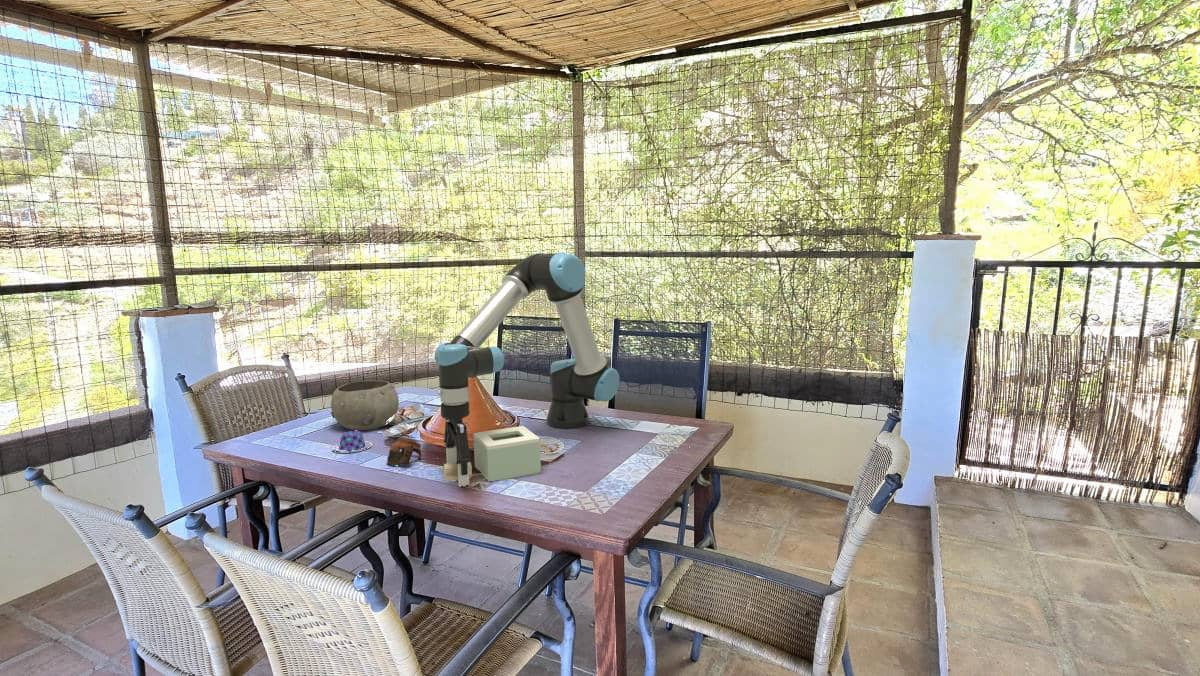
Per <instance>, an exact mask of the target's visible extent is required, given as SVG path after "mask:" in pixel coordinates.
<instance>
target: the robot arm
mask: <svg viewBox="0 0 1200 676" xmlns="http://www.w3.org/2000/svg"><path fill="white" fill-rule="evenodd" d="M585 277H587V275H586V269H585V266H584V264H583V262H582V260H581V259H580V258H579V257H578V256H576V255H574V254H572V253H566V252H557V253H533V254H531V255H529V256H527V257H525V258H524V259H522V260H520V261H519V262H518V263H517V264H515V266H513V267H512V268H511V269H510V270H509V271H508V272H507V273H506V274H505V276H504V277H503V278H502V284H501V285H500V286H499V287H498V288H497V290H496V291H494V292H493V294H492V295H491V297H489V299H487V300H486V301H485V303H484V304H483V305H482V307H481V308H479V310H478V311H477V312H476V313H475V314H474V315H473V317H472V318H471V319H470V320H469V321H468V322H466V324H465V326H464V327H462V329H461V330H460V331H459V332H458V333H457V334H456V336H455V337H454V338H453V339H452V340H451V341H449V342H444V343H441V344H439V345H438V346H437V347H436V349H435V351H434V360H435V362H436V364H437V365H438V375H439V390H440V391H438V392H437V394H438V396H440V397H439V398H440V402H441V403H440V416H441V418H443V419H444V420H445V423H444V424H445V427H444V438H443V443H444V444H445V449H446V450H445V453H446V464H449V463H456V464H458V481H457V482H458V487H459V488H462V487H461V486H463V487H467V486H466V485H469V486H470V480H469V462H470V463H471V462H472V458H471V455H470V454H471V453H470V447H469V445H470V444H469V438H468V431H467V424H466V423H465V422H464V421H463V419H464V418H466V417H469V416H470V402H469V400H470V388H469V387H470V386H469V378H474V377H480V376H485V375H492V374H494V373H495V374H496V373H497V372H500V371H502V369H503V367H504V365H505V356H504V353H503V351H502V350H501V349H500V348H499V347H497V346H486V347H481V346H482V345H484V343H485V342H486V341H487V339H488V338H489V337H490V336H491V335H492V334H493V333H494V332H495V331H496V329H497V328H498V327H499V325H501V323H502V322H503V321H504V320H505V319H506V318H507V316H508V315H509V314H510V313H511V312H512V311H513V309H514V308H515V307H516V305H518V303H519V302H520V301H521V299H522V300H523V299H526V298H527V297H528V296H530V294H531V293H533V292H535V291H545V293H546V296H547V300H548V301H549V302H551V303H553V304H554V305H555V308H556V310H557V313H558V315H559V316H558V317H559V318H560V322H561V325H562V328H563V330H564V333H565V336H566V340H567V341H568V342H567V343H568V344H569V347H570V350H571V352H572V356H573V358H568V359H561V360H556V361H552V363H551V364H550V372H549V379H550V396H551V397H550V401H551V402H550V406H549V407H548V408H549V409H548V411H547V415H546V424H547V425H548V426H550V427H552V428H558V429H573V428H574V429H575V428H580V427H585V426H586V425H588V424H589V422H590V421H589V413H588V410H587V408H586V405H585V403H584V399H586V400H592V401H596V402H608V401H610V400H612V399H613V398H614V397H615V395H616V394H617V392H618V389H619V386H620V375H619V372H618V370H617V369H615V368H613V367H610V366H609V364H608V360H607V358H606V357H605V356H604V355H601V353H600V350H599V347H598V344H597V342H596V338H595V334H594V332H593V329H592V327H591V323H590V321H589V318H588V314H587V312H586V308H585V306H584V302H583V300H582V297H581V295H582V292H583V291H584V288H583V286H584V284H585V283H586V278H585Z"/></svg>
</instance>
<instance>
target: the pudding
mask: <svg viewBox="0 0 1200 676" xmlns="http://www.w3.org/2000/svg"><path fill="white" fill-rule="evenodd" d="M365 442H369V443H370V444H371V446H370V447H368V448H367V449H369V448H371V447H372V446H373V443H372V442H370V441H367V440H365V439H364V435H363V433H362V431H353V430H349V431H344V433H342V434H341V436H340V441H339V444H336V445H335V446H337V445H339V449H340V450H346V451H352V450H359V449H361V448H364V447H365V448H366V446H365V445H366V444H365ZM335 446H333V447H332V452H335V453H337V452H336V451H334V450H333V449H334V447H335ZM365 448H364V450H362V449H361V450H360V451H359V452H361V451H365V450H366V449H365ZM339 449H338V450H339ZM340 450H339V451H340ZM346 451H345V452H339V453H343V454H345V453H346V454H348V453H349V452H346ZM352 452H353V451H352ZM355 452H356V453H357V452H358V451H355ZM355 452H354V453H355Z"/></svg>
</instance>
